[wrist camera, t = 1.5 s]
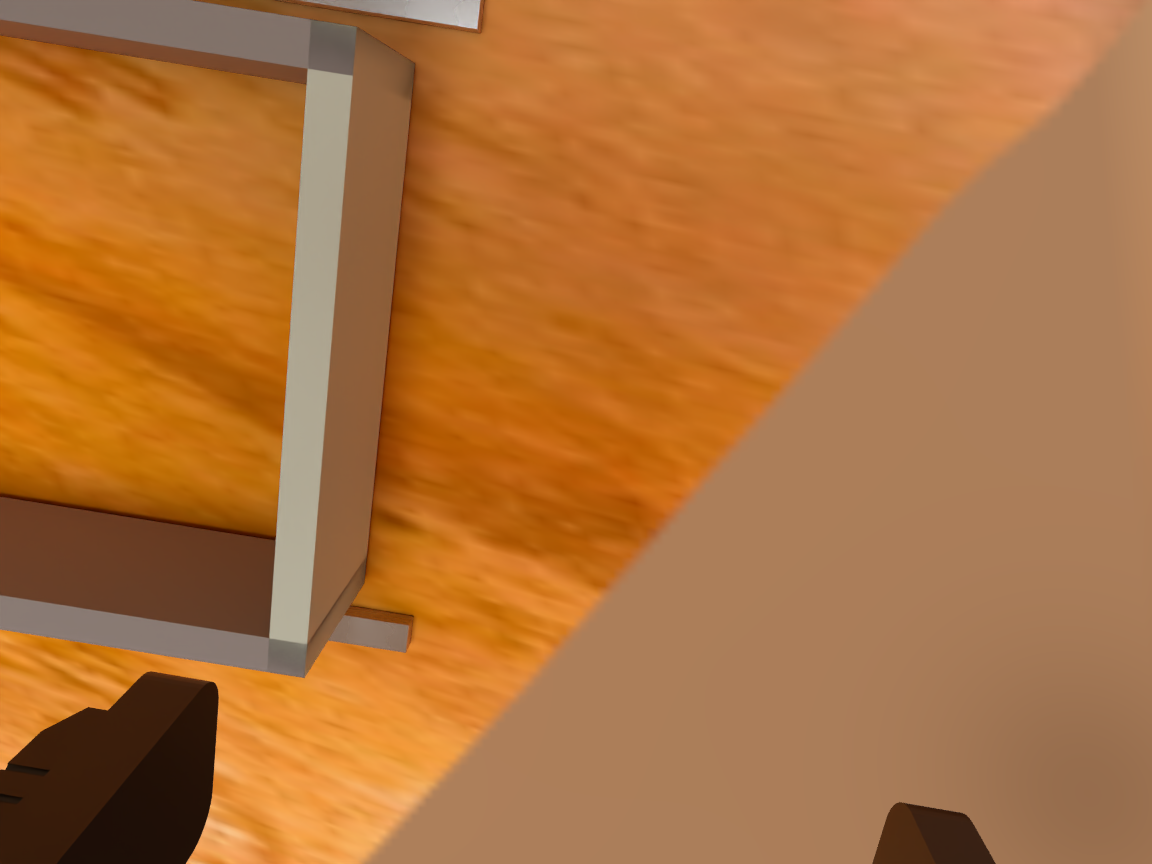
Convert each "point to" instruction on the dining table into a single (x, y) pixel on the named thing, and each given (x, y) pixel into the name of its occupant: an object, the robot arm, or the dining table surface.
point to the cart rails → (442, 5)
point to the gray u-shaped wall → (314, 375)
